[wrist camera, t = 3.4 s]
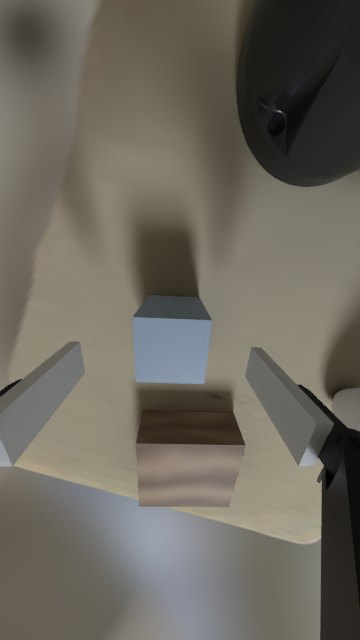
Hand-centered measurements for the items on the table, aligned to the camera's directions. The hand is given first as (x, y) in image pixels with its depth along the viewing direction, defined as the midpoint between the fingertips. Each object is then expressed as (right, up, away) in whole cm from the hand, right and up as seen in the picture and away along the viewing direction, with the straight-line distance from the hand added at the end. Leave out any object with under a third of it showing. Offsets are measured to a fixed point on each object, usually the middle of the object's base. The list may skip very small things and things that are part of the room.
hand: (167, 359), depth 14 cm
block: (0, +3, +8) cm, 9 cm away
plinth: (+2, -18, +16) cm, 24 cm away
